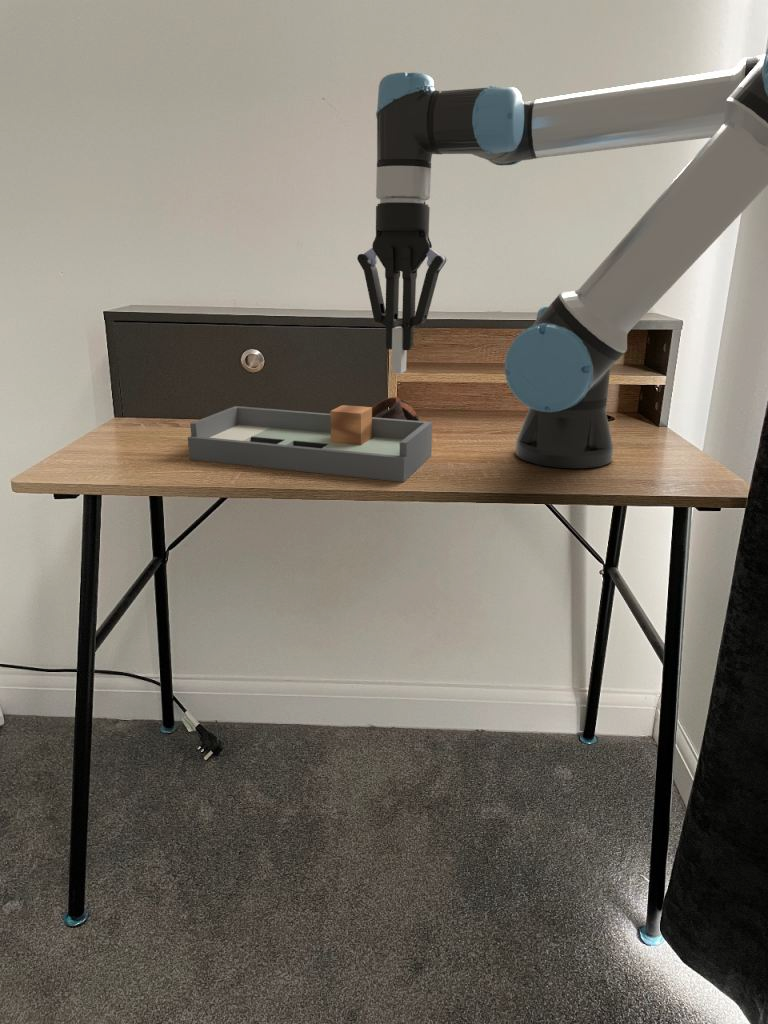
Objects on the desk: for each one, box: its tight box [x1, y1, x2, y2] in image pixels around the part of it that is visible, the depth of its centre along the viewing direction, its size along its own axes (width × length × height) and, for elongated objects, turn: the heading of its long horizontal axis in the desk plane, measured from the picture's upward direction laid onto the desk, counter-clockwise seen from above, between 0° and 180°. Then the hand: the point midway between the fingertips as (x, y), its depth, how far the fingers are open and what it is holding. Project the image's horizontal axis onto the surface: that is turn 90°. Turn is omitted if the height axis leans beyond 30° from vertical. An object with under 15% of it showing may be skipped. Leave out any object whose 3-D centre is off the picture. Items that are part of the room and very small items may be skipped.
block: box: [330, 404, 373, 445], centre depth 117 cm, size 5×5×5 cm
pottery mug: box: [372, 396, 420, 421], centre depth 129 cm, size 12×10×8 cm
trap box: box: [187, 405, 433, 483], centre depth 116 cm, size 35×15×6 cm, turn 71°
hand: (398, 371), depth 111 cm, fingers closed
